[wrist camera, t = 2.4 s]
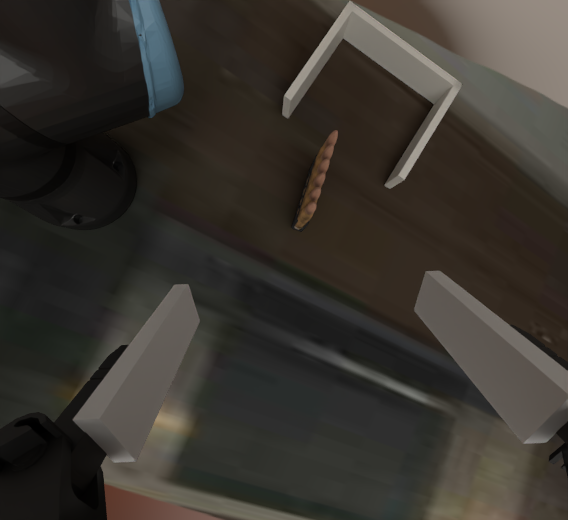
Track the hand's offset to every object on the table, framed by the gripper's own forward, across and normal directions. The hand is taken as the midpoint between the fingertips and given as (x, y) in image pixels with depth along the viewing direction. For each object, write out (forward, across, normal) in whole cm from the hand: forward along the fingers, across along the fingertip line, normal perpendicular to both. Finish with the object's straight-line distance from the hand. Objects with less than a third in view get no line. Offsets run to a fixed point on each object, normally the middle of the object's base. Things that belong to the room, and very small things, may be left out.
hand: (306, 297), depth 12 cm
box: (+35, +14, +12) cm, 40 cm away
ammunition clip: (+27, +3, -1) cm, 27 cm away
